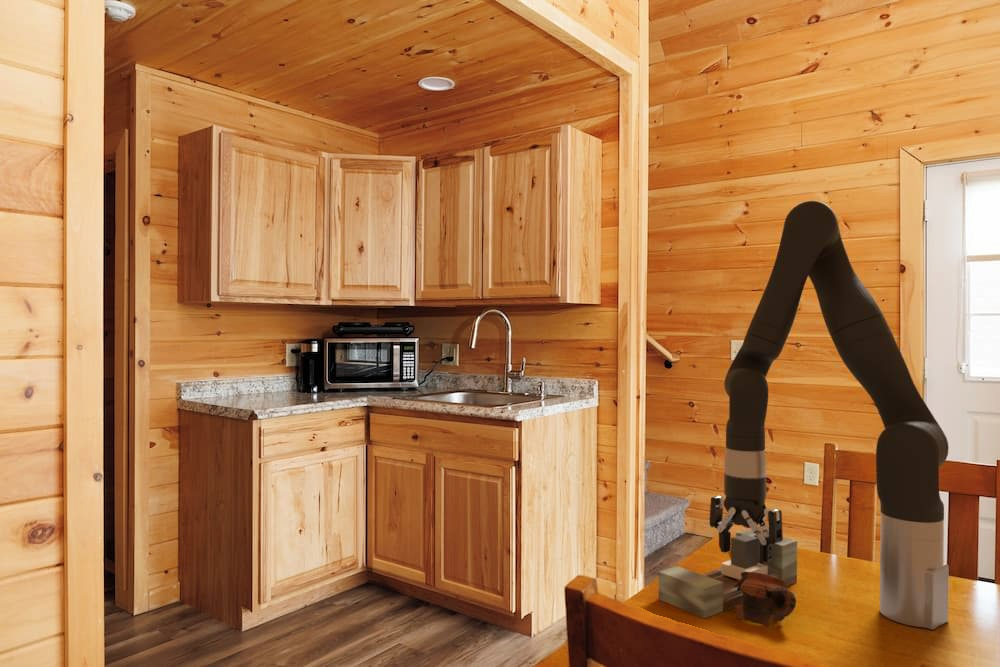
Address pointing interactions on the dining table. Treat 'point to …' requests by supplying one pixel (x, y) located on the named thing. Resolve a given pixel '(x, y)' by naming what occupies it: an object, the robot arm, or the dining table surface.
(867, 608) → the dining table surface
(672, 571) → the rail base
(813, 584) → the dining table surface
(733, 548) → the carriage
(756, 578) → the pottery mug
